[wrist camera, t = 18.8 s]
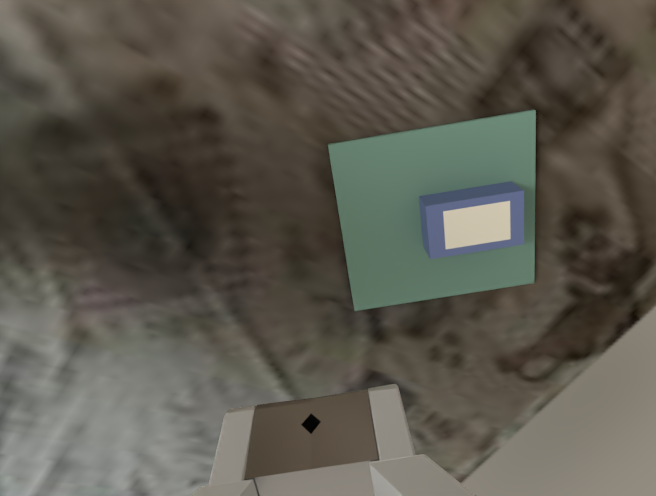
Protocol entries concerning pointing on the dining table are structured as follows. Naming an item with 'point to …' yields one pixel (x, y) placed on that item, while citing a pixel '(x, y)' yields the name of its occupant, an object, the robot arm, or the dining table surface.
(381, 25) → the dining table surface
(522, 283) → the mat
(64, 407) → the dining table surface
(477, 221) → the block
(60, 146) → the dining table surface
